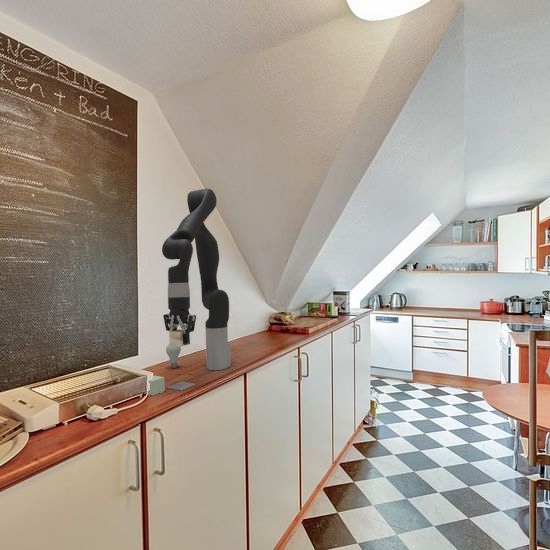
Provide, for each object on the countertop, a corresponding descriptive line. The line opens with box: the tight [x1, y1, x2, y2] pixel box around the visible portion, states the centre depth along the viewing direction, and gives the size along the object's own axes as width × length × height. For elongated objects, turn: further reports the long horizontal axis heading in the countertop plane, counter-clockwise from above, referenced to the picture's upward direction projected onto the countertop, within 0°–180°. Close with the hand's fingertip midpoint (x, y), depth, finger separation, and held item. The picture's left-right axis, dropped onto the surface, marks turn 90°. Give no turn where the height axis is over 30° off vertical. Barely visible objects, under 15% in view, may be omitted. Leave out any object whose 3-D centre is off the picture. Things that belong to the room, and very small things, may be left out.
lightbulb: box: [165, 343, 182, 369], centre depth 151 cm, size 6×6×11 cm
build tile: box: [166, 381, 197, 392], centre depth 125 cm, size 7×7×1 cm
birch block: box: [168, 328, 191, 347], centre depth 125 cm, size 5×5×5 cm
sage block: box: [148, 375, 166, 396], centre depth 119 cm, size 5×5×5 cm
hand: (180, 343), depth 125 cm, fingers closed on birch block, 5 cm apart
